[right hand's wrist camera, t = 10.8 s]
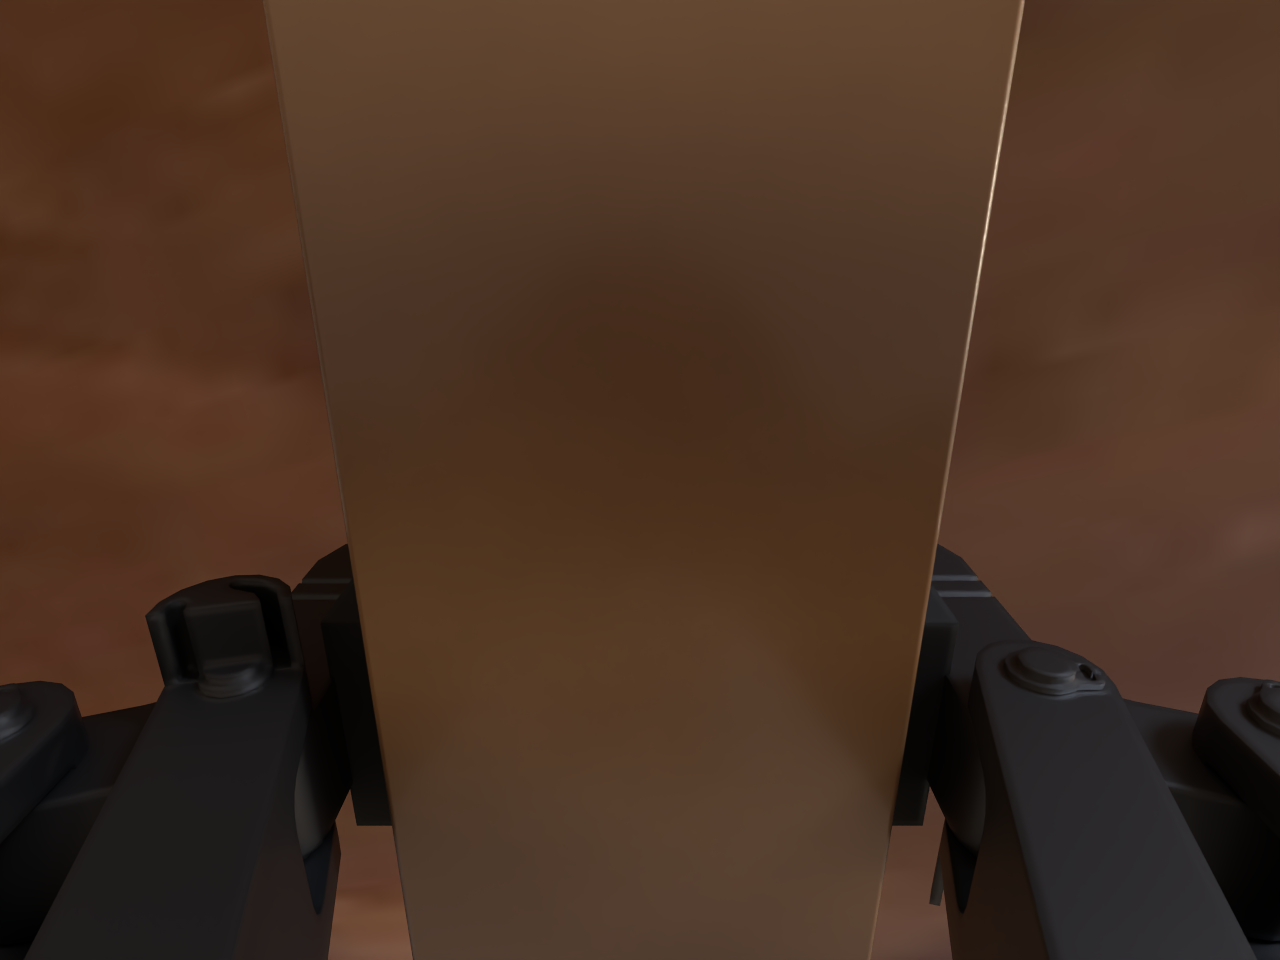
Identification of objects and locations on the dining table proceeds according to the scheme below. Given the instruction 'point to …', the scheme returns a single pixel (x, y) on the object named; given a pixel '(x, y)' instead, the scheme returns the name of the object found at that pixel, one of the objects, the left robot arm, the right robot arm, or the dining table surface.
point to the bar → (642, 439)
